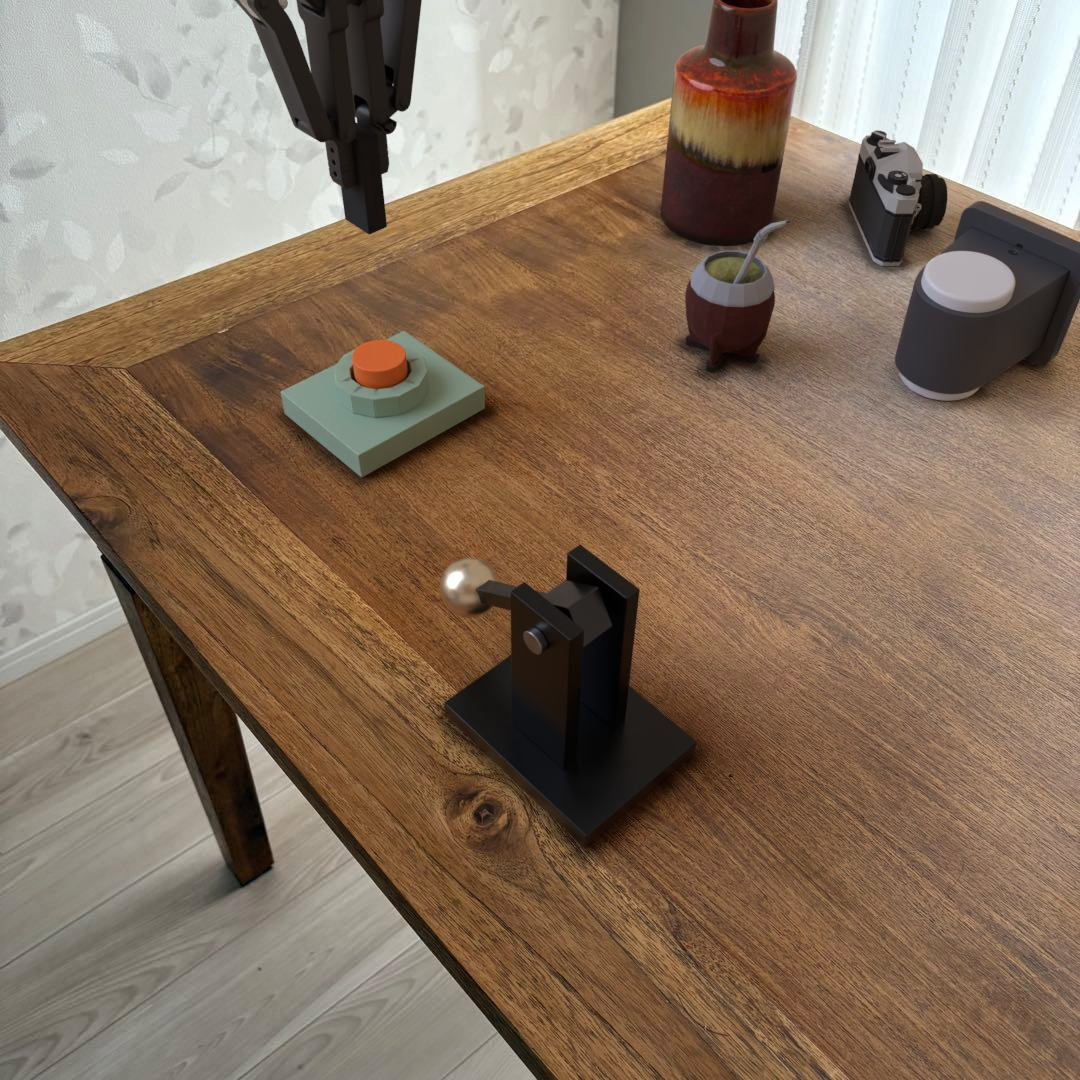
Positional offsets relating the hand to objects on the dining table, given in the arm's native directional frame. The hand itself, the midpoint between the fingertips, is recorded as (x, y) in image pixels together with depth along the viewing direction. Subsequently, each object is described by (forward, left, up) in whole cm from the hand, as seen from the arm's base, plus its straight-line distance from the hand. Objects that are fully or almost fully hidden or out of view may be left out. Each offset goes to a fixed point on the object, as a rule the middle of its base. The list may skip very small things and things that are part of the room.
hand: (366, 222), depth 75 cm
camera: (+54, +3, -16) cm, 56 cm away
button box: (0, 0, -16) cm, 16 cm away
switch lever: (-3, -30, -9) cm, 31 cm away
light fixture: (+44, -16, -16) cm, 49 cm away
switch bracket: (-2, -33, -16) cm, 37 cm away
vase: (+40, +13, -16) cm, 45 cm away
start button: (0, 0, -13) cm, 13 cm away
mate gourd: (+28, -6, -16) cm, 33 cm away
